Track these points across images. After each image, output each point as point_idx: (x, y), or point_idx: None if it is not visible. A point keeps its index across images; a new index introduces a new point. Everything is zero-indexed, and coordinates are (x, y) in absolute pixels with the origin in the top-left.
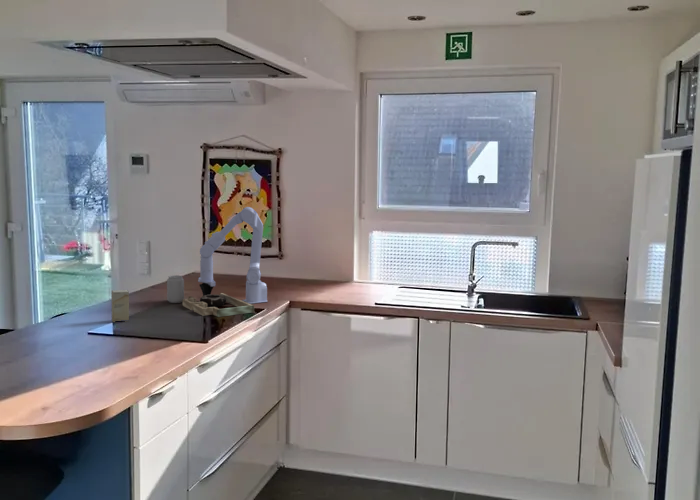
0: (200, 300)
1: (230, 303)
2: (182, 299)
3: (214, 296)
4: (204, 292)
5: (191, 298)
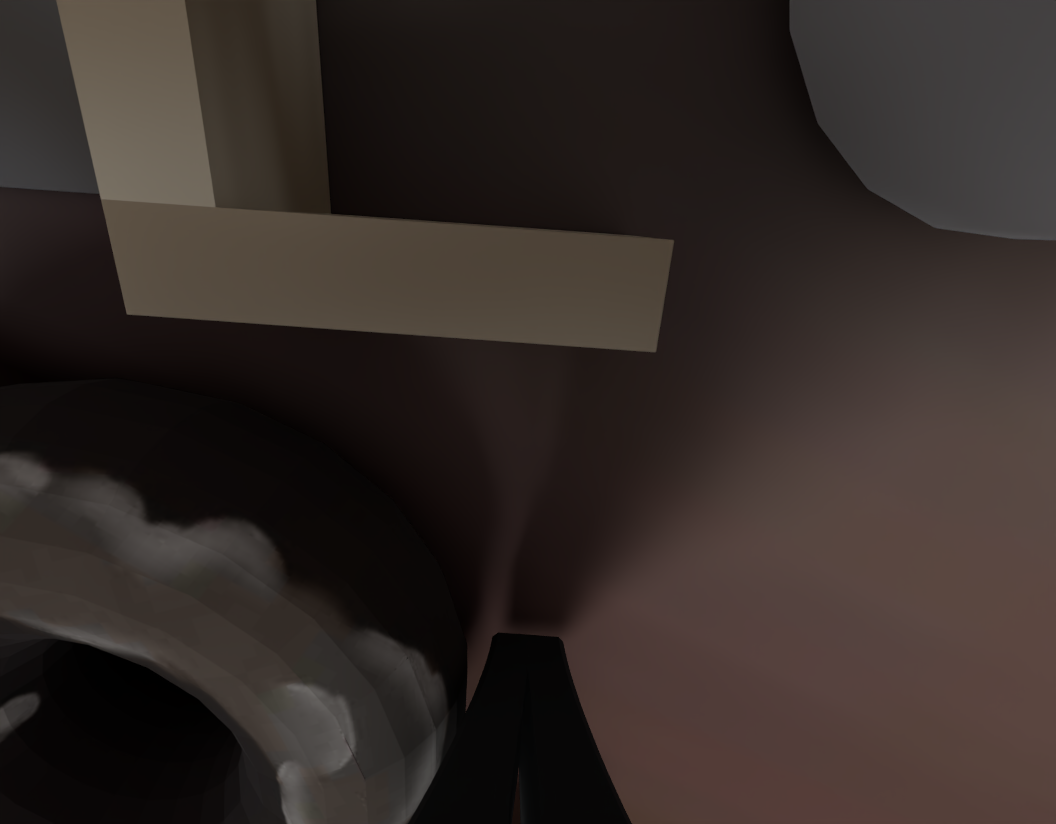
0: (123, 410)
1: None
2: (828, 68)
3: (223, 818)
4: (418, 812)
5: (195, 144)
